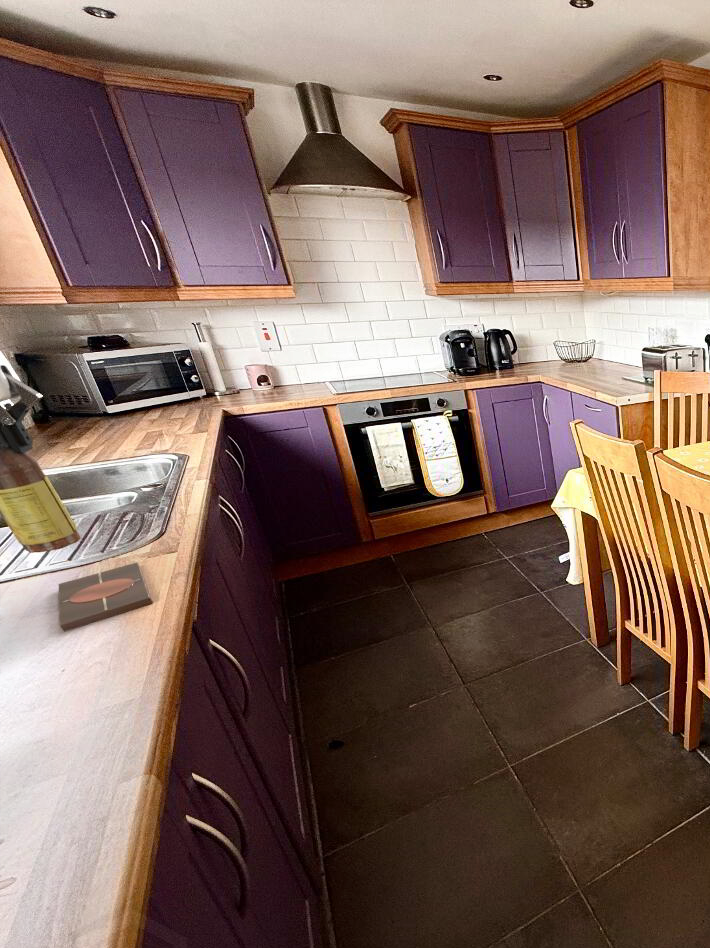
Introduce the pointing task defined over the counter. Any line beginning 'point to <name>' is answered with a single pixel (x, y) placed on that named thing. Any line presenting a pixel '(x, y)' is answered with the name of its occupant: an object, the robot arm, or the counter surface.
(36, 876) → the counter surface
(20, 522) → the sauce bottle
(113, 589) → the board
